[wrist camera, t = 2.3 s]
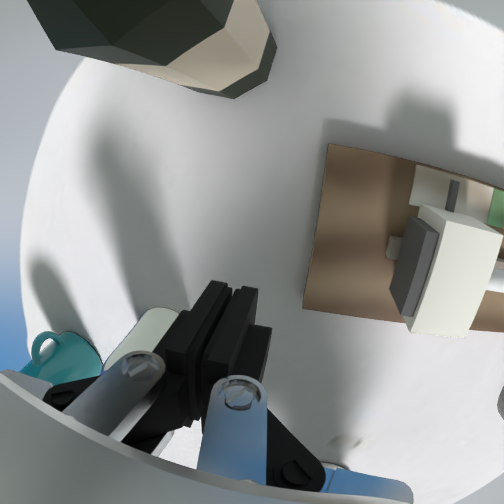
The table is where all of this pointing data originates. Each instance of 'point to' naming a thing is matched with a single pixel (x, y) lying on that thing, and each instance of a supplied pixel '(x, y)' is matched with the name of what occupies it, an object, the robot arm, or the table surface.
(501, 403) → the baseball cap
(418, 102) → the table surface
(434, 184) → the base
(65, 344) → the cup
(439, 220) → the white block grey face
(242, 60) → the wine bottle
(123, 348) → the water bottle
